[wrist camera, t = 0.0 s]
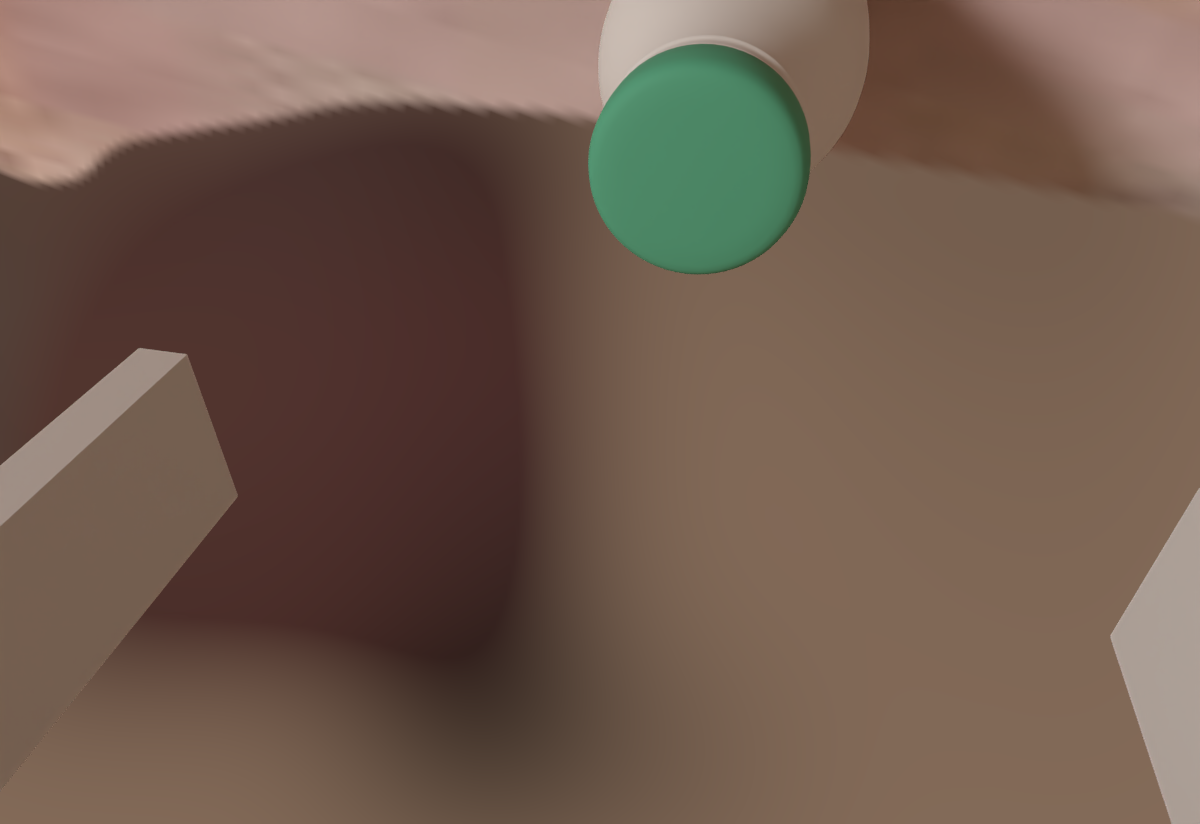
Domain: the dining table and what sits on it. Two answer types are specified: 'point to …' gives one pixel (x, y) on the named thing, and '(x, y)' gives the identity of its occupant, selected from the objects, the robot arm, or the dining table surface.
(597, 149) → the milk bottle
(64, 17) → the dining table surface
